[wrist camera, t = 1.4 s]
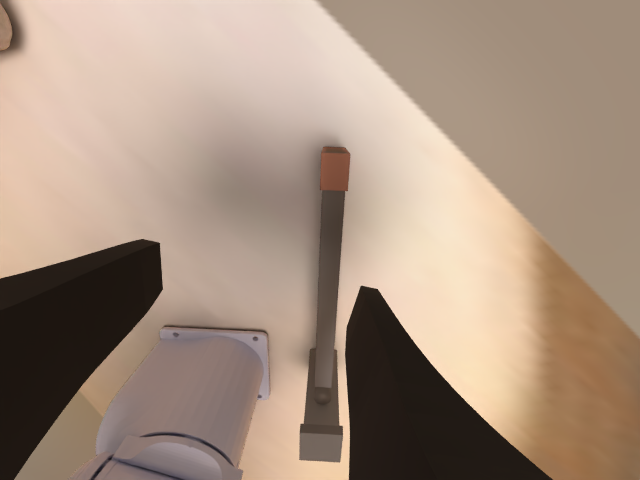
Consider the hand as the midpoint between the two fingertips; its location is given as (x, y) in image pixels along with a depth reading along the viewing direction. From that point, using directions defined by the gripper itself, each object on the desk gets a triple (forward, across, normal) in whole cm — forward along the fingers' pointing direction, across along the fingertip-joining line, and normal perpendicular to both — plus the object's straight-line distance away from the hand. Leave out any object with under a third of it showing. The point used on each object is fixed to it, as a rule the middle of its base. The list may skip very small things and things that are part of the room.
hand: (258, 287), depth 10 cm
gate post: (+10, -5, +15) cm, 18 cm away
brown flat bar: (+10, -3, +5) cm, 12 cm away
